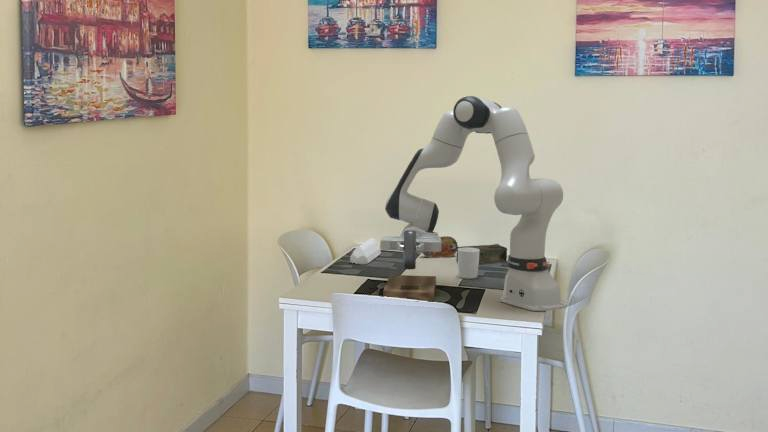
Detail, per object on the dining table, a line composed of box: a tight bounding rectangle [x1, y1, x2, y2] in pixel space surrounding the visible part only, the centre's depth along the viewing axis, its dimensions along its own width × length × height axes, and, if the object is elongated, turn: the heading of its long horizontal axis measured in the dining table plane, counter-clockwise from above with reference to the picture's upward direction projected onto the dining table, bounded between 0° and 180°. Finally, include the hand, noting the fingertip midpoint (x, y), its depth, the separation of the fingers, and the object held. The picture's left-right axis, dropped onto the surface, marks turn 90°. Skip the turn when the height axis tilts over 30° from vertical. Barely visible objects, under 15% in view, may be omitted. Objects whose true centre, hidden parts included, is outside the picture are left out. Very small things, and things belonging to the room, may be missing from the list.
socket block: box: [382, 274, 437, 302], centre depth 286 cm, size 16×24×3 cm, turn 175°
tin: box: [422, 235, 459, 259], centre depth 345 cm, size 15×3×8 cm, turn 104°
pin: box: [402, 231, 417, 270], centre depth 278 cm, size 4×4×12 cm
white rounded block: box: [349, 237, 382, 265], centre depth 340 cm, size 7×7×24 cm
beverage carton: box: [456, 243, 508, 265], centre depth 337 cm, size 8×19×7 cm, turn 115°
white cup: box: [457, 248, 480, 280], centre depth 310 cm, size 8×8×10 cm
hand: (409, 248), depth 277 cm, fingers closed on pin, 4 cm apart
